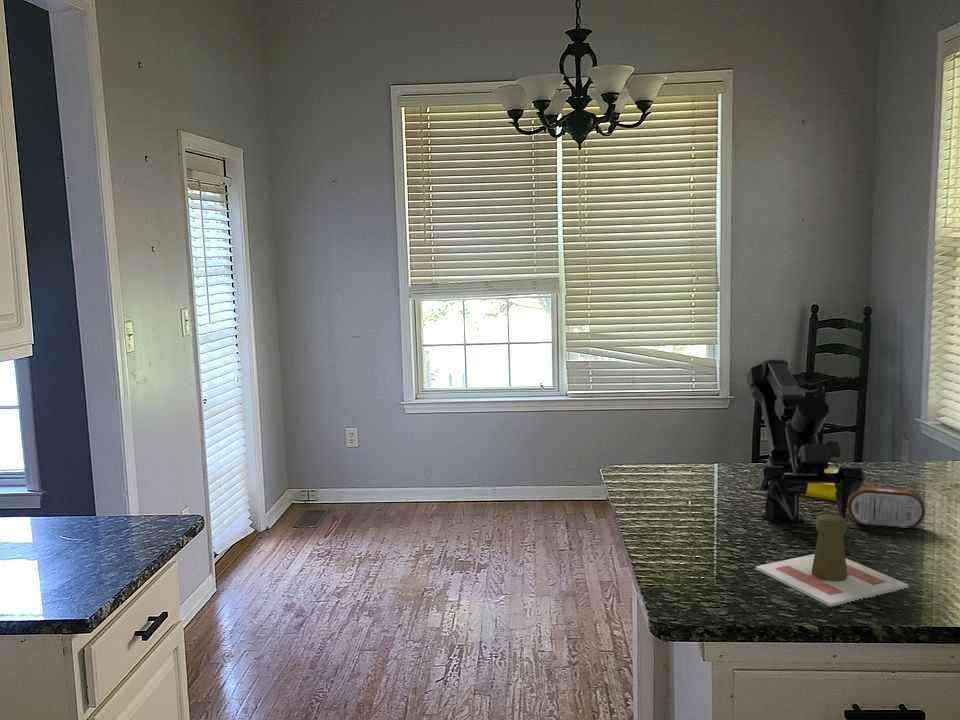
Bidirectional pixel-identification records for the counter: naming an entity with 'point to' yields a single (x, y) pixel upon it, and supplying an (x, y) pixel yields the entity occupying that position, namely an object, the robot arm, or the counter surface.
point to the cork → (830, 548)
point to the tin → (886, 507)
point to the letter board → (831, 593)
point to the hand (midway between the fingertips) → (818, 518)
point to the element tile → (823, 488)
